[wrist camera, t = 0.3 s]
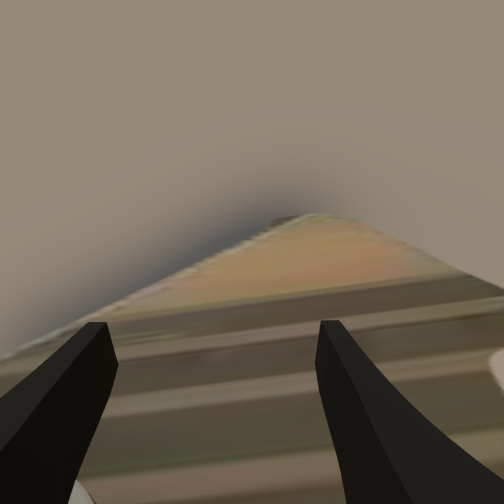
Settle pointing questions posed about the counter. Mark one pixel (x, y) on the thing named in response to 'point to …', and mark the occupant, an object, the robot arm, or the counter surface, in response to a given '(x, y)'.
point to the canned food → (80, 495)
